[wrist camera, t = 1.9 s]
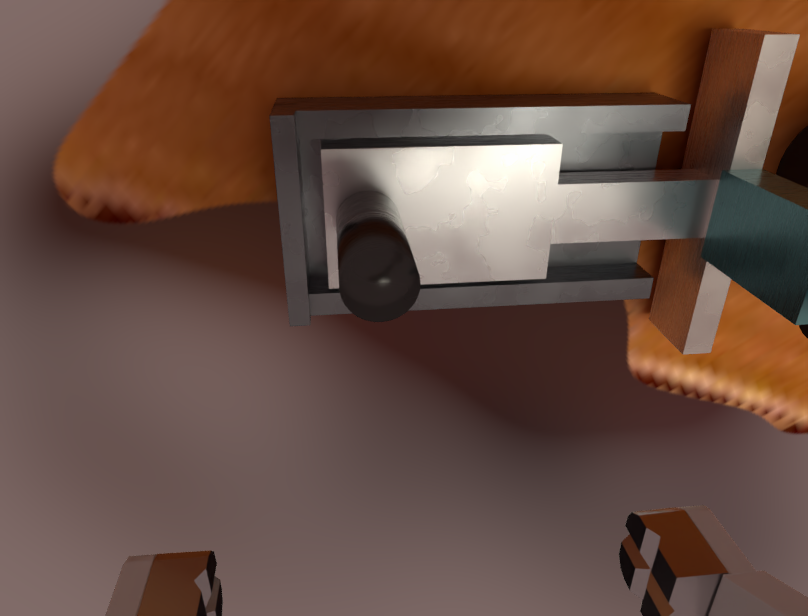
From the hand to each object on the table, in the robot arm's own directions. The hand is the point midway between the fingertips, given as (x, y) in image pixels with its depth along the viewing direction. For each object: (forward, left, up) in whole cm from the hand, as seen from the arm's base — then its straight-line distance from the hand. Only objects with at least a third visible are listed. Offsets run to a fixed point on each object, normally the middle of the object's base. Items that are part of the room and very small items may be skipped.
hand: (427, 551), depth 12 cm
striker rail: (-6, 0, -23) cm, 23 cm away
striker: (-9, 0, -22) cm, 24 cm away
